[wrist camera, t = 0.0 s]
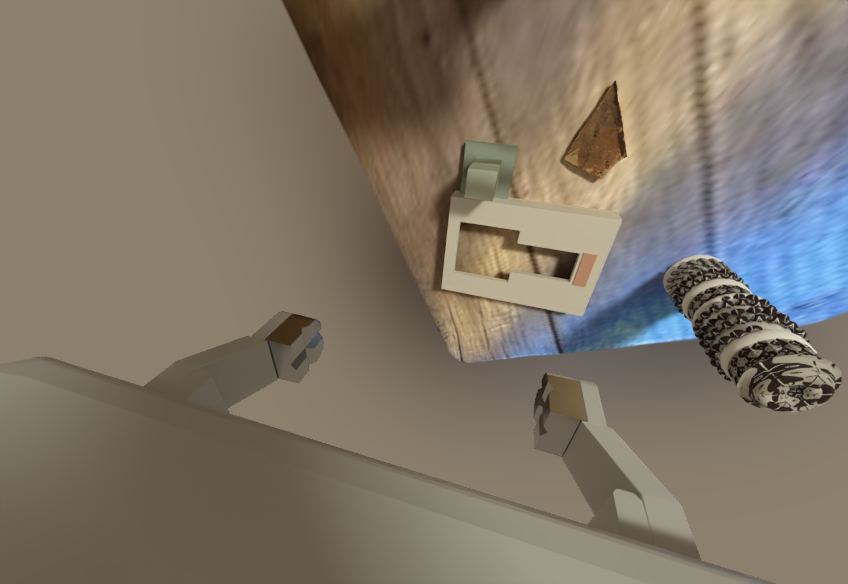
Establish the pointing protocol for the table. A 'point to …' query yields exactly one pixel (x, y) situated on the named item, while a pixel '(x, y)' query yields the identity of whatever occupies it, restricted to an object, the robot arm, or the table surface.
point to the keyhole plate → (537, 228)
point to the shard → (600, 138)
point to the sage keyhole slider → (487, 170)
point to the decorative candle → (750, 338)
